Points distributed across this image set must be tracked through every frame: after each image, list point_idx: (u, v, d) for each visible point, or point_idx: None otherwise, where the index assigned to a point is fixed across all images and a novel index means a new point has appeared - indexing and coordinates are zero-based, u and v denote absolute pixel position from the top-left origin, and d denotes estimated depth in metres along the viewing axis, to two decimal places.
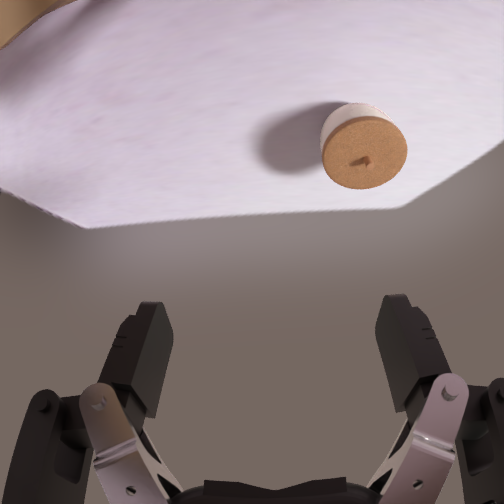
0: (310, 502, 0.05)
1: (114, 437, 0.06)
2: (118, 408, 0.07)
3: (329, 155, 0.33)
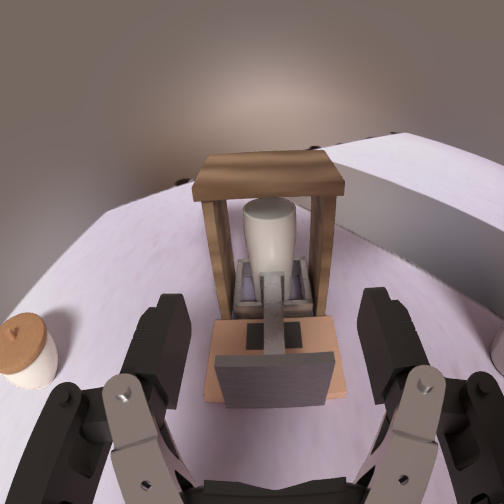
0: (310, 502, 0.05)
1: (135, 430, 0.06)
2: (142, 401, 0.07)
3: (32, 316, 0.34)
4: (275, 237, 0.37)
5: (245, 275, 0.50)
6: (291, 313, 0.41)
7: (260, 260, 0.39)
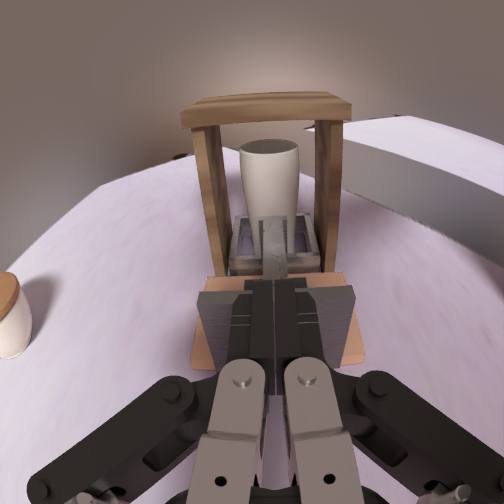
0: None
1: (238, 421, 0.06)
2: (259, 395, 0.07)
3: (7, 274, 0.29)
4: (275, 175, 0.32)
5: (243, 234, 0.45)
6: (295, 269, 0.36)
7: (259, 205, 0.34)
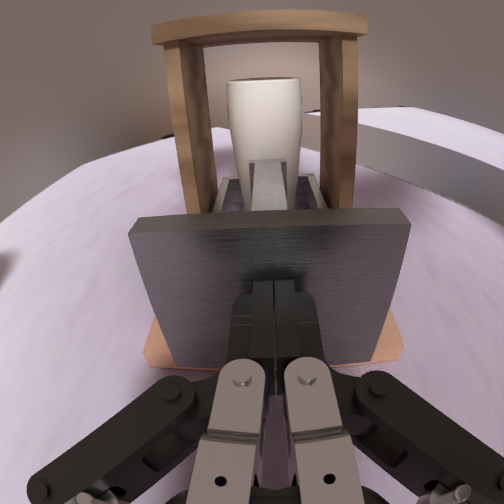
0: None
1: (238, 421, 0.06)
2: (259, 395, 0.07)
3: None
4: (272, 107, 0.23)
5: (233, 199, 0.36)
6: None
7: (250, 149, 0.25)
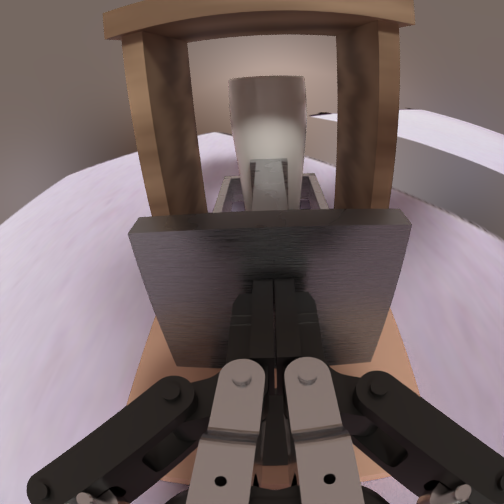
0: None
1: (237, 421, 0.06)
2: (259, 395, 0.07)
3: None
4: (271, 104, 0.22)
5: (234, 199, 0.36)
6: None
7: (249, 147, 0.24)
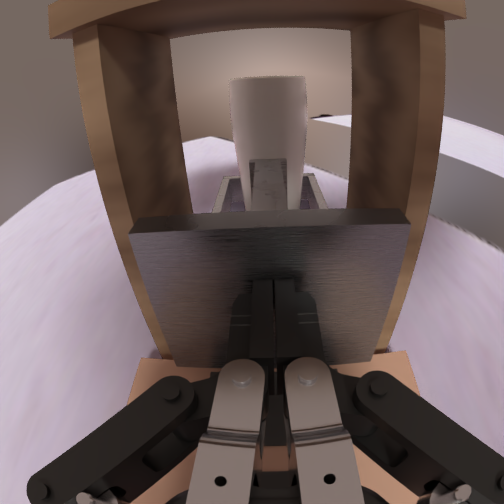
0: None
1: (237, 421, 0.06)
2: (259, 395, 0.07)
3: None
4: (269, 105, 0.22)
5: (233, 199, 0.36)
6: None
7: (248, 147, 0.24)
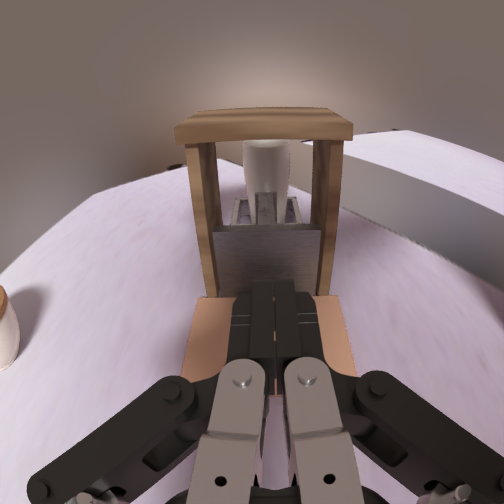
0: None
1: (238, 421, 0.06)
2: (259, 395, 0.07)
3: None
4: (267, 163, 0.40)
5: (242, 213, 0.54)
6: None
7: (254, 187, 0.43)
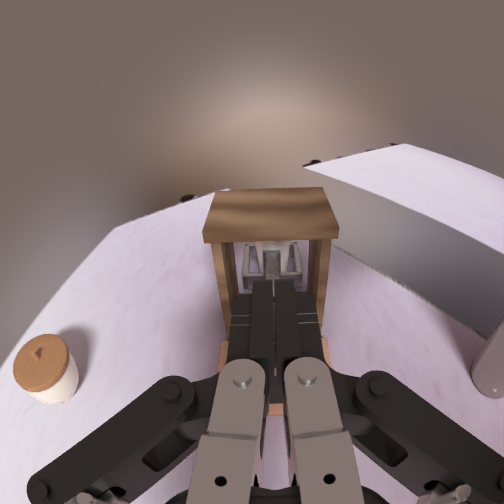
0: None
1: (238, 421, 0.06)
2: (259, 395, 0.07)
3: (54, 337, 0.38)
4: None
5: (251, 256, 0.65)
6: None
7: (262, 245, 0.53)
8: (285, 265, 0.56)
